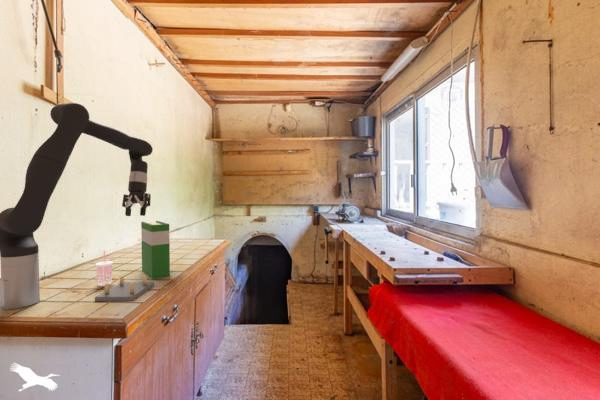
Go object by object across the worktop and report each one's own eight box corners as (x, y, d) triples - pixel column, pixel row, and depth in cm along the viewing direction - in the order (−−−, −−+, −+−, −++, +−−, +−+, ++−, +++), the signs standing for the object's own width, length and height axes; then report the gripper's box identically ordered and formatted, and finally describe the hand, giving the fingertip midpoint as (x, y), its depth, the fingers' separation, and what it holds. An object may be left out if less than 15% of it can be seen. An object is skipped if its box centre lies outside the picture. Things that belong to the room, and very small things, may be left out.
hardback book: (141, 270, 135) (141, 221, 135) (158, 267, 140) (157, 220, 140) (152, 279, 122) (151, 225, 122) (169, 275, 127) (169, 224, 127)
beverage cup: (115, 281, 120) (114, 248, 119) (111, 285, 114) (111, 251, 114) (98, 282, 117) (97, 250, 117) (93, 287, 112) (93, 253, 111)
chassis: (132, 300, 98) (132, 286, 98) (94, 301, 98) (94, 287, 98) (154, 285, 114) (154, 273, 114) (121, 285, 114) (121, 273, 114)
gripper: (119, 181, 131) (116, 215, 129) (143, 179, 127) (140, 214, 125) (132, 184, 138) (130, 216, 136) (156, 182, 135) (153, 216, 132)
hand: (135, 215), depth 131 cm, fingers open, 8 cm apart
